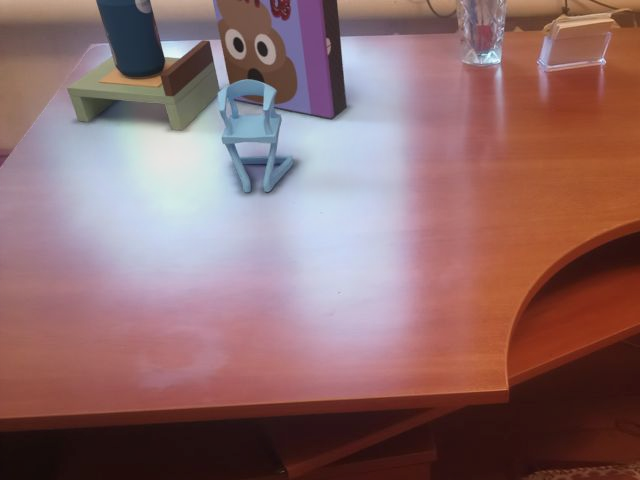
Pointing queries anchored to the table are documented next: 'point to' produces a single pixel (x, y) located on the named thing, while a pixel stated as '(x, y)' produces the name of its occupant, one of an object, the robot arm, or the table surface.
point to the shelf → (152, 87)
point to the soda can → (132, 37)
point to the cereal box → (285, 52)
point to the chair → (253, 131)
